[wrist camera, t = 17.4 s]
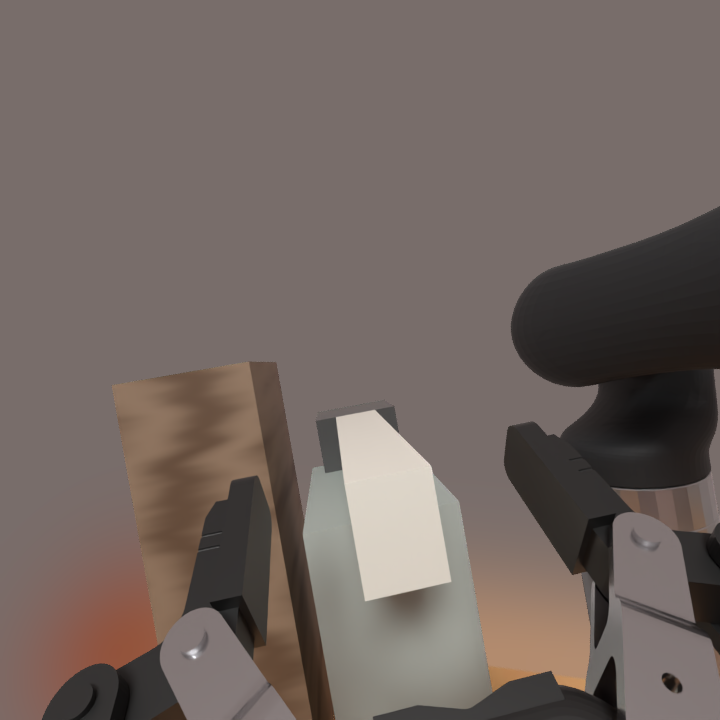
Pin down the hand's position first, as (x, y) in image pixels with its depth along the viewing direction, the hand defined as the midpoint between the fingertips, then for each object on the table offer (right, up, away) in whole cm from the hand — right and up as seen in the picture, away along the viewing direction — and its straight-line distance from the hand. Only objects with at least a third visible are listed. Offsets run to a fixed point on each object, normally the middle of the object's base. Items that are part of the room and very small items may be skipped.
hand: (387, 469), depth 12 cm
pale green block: (+3, -25, +13) cm, 29 cm away
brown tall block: (-7, -27, +17) cm, 32 cm away
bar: (0, -4, +11) cm, 12 cm away
